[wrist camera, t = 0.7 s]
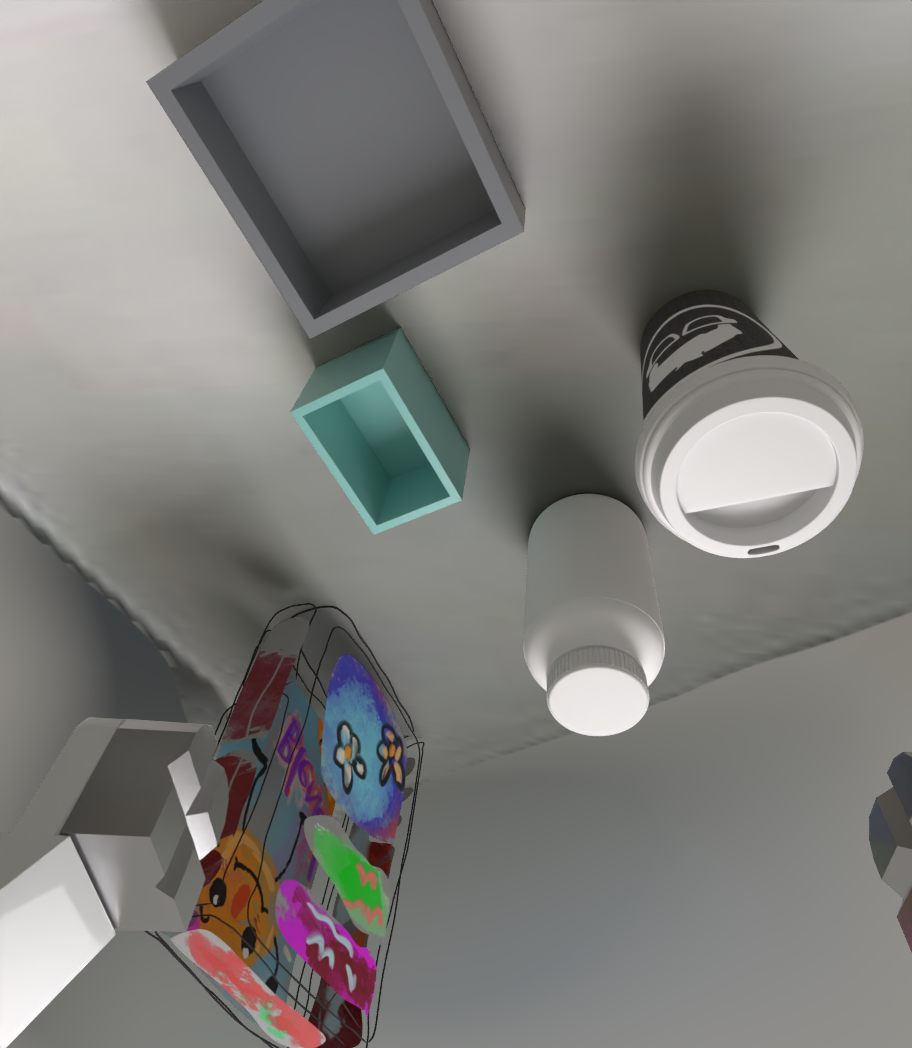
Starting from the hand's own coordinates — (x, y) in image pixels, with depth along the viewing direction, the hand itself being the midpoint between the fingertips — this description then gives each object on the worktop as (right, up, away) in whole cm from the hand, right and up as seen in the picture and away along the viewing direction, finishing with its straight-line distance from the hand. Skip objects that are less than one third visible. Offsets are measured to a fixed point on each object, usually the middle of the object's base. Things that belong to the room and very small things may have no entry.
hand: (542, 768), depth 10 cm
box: (-11, -6, +52) cm, 53 cm away
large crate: (-6, +23, +31) cm, 39 cm away
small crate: (-5, +10, +40) cm, 41 cm away
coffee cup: (+13, +13, +36) cm, 40 cm away
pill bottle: (+8, +2, +44) cm, 45 cm away
